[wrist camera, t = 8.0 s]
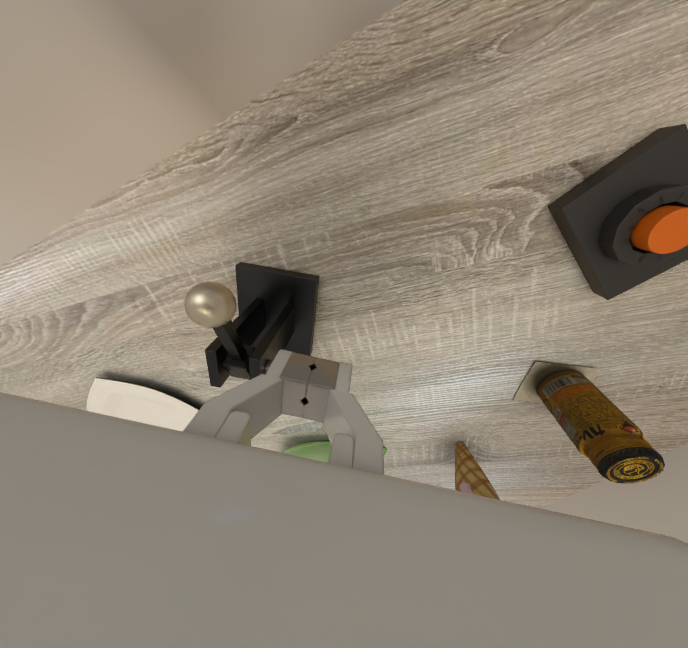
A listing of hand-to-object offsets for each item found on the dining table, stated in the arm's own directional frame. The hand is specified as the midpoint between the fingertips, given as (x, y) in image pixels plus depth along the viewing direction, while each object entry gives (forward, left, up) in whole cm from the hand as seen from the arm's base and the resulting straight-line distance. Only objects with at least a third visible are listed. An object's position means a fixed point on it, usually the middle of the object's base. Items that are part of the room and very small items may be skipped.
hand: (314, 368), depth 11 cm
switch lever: (-3, -10, -10) cm, 14 cm away
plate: (+2, -52, -22) cm, 57 cm away
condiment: (+33, +9, -22) cm, 40 cm away
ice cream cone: (+37, -8, -22) cm, 44 cm away
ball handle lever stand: (0, -13, -22) cm, 26 cm away
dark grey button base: (+16, +22, -22) cm, 34 cm away
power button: (+16, +22, -18) cm, 32 cm away
